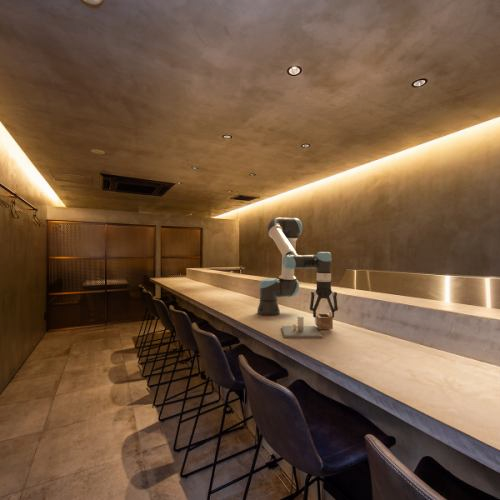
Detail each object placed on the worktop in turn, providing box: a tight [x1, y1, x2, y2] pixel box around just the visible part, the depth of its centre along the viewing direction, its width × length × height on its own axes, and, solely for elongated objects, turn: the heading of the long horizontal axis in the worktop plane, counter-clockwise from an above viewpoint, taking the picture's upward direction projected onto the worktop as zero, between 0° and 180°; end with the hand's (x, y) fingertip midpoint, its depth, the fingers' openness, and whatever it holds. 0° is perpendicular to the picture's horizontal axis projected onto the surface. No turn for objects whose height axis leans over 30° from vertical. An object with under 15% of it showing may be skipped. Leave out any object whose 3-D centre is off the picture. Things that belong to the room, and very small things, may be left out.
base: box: [281, 316, 323, 339], centre depth 148 cm, size 18×18×8 cm
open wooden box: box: [315, 312, 334, 330], centre depth 155 cm, size 10×7×6 cm
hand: (323, 323), depth 155 cm, fingers closed on open wooden box, 7 cm apart
